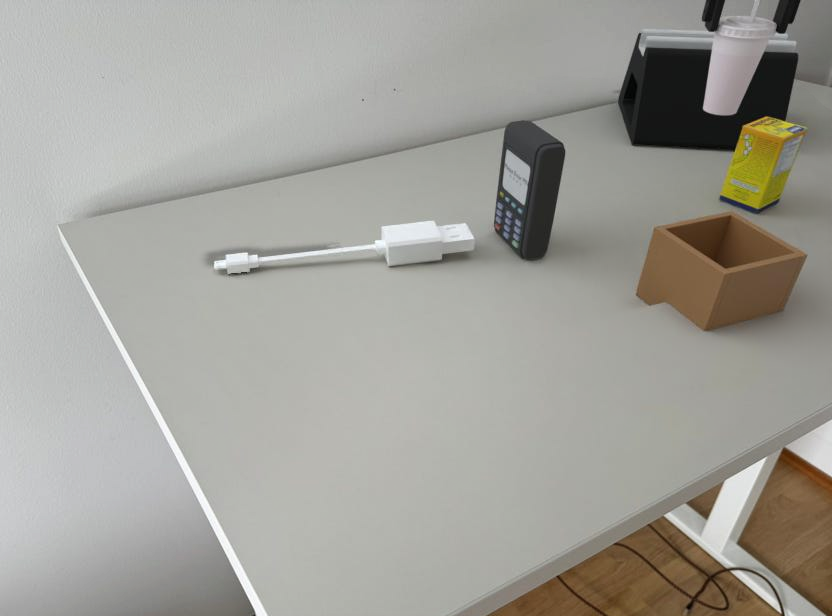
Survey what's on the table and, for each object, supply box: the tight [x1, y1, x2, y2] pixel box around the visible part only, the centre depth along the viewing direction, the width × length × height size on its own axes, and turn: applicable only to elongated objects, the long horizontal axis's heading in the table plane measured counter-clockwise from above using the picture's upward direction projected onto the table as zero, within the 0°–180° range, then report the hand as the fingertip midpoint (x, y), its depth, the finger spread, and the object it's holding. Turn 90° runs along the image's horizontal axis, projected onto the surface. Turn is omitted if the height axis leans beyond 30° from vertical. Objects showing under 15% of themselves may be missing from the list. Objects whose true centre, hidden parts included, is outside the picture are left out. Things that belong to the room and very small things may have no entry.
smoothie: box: [703, 0, 777, 115], centre depth 80 cm, size 6×6×14 cm
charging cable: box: [213, 220, 475, 275], centre depth 89 cm, size 5×32×3 cm, turn 98°
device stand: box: [617, 28, 799, 151], centre depth 120 cm, size 22×22×15 cm
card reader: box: [493, 119, 566, 261], centre depth 88 cm, size 9×4×15 cm, turn 18°
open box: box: [635, 210, 808, 332], centre depth 78 cm, size 11×11×9 cm
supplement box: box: [718, 117, 808, 215], centre depth 98 cm, size 6×6×11 cm
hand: (744, 28), depth 79 cm, fingers closed on smoothie, 6 cm apart
